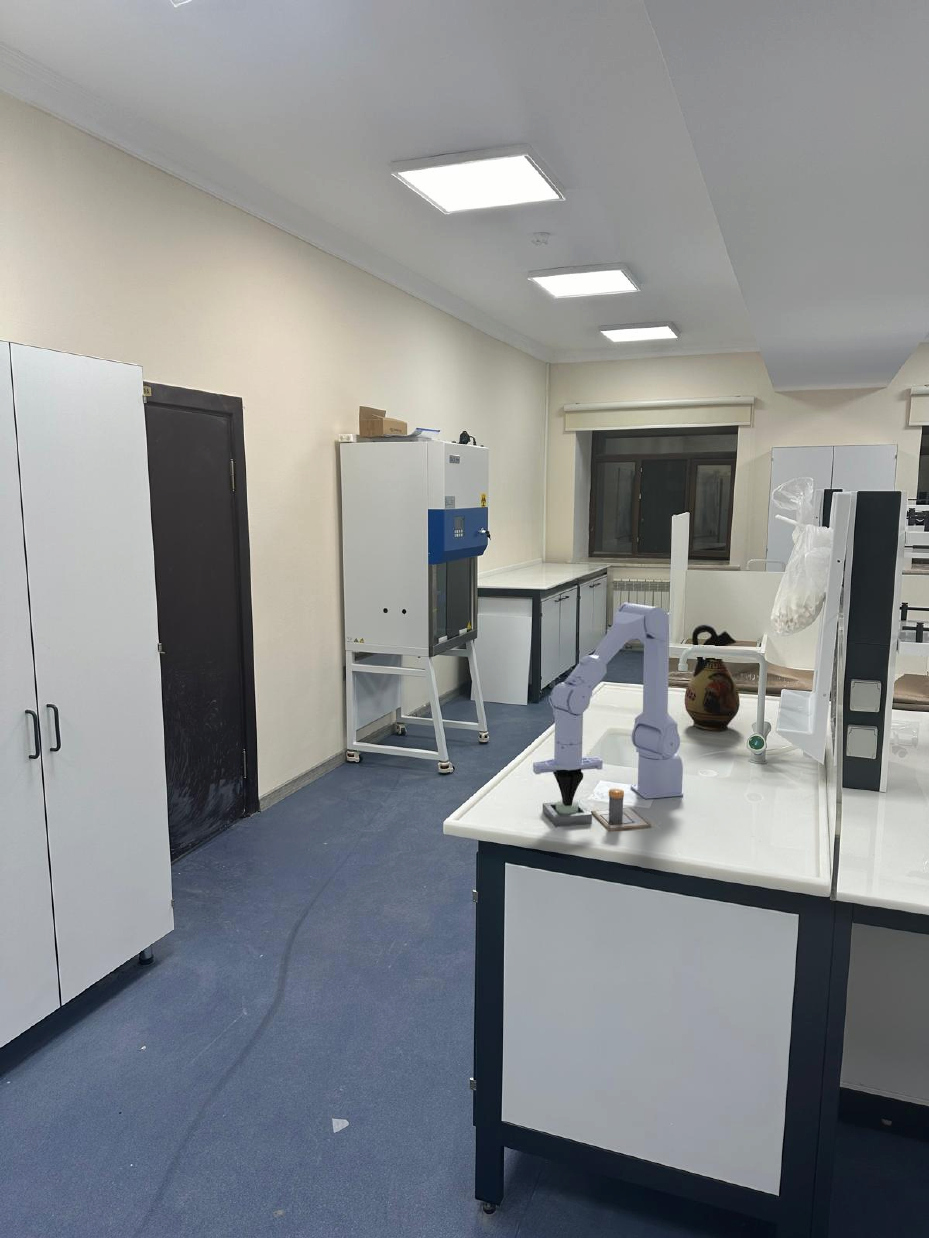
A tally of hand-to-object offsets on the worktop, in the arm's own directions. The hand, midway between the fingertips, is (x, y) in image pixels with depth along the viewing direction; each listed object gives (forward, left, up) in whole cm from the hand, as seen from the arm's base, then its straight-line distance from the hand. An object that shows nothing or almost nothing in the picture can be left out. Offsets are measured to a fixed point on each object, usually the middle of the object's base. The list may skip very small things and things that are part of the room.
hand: (567, 804), depth 170 cm
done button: (0, 0, -3) cm, 3 cm away
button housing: (0, 0, -3) cm, 3 cm away
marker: (-8, +6, -2) cm, 10 cm away
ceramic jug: (-64, -57, -3) cm, 86 cm away
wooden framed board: (-10, +4, -3) cm, 11 cm away
